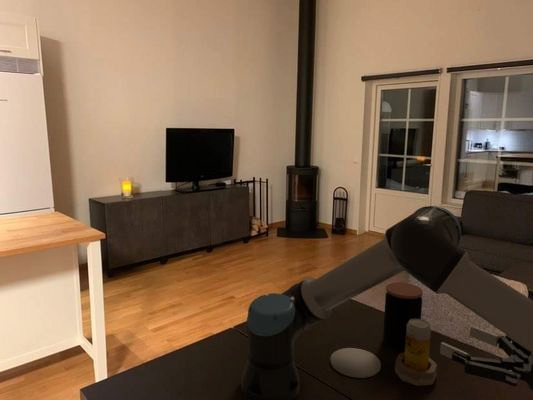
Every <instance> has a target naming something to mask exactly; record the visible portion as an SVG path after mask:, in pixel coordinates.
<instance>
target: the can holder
mask: <svg viewBox="0 0 533 400" xmlns="http://www.w3.org/2000/svg"><path fill="white" fill-rule="evenodd" d="M404 358H405V352H400V353H399V354H398V355H397V357H396V359H395V365H394V373H395V374H396V375H397V376H398V377H399V378H400V380H401V381H402V382H405V383H408V384H411V385H415V386H416V387H417V386H418V387H422V386H430V385H433V384H434V382H435V381H436V377H437V370H438V369H437V368H438V364H437V363H436V362H435V361H434V360H433V359H432V358H431V357H429V360H428V370H423V371H417V370H414V369H411V368H408V367H406V366H405V365H404Z"/></svg>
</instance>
